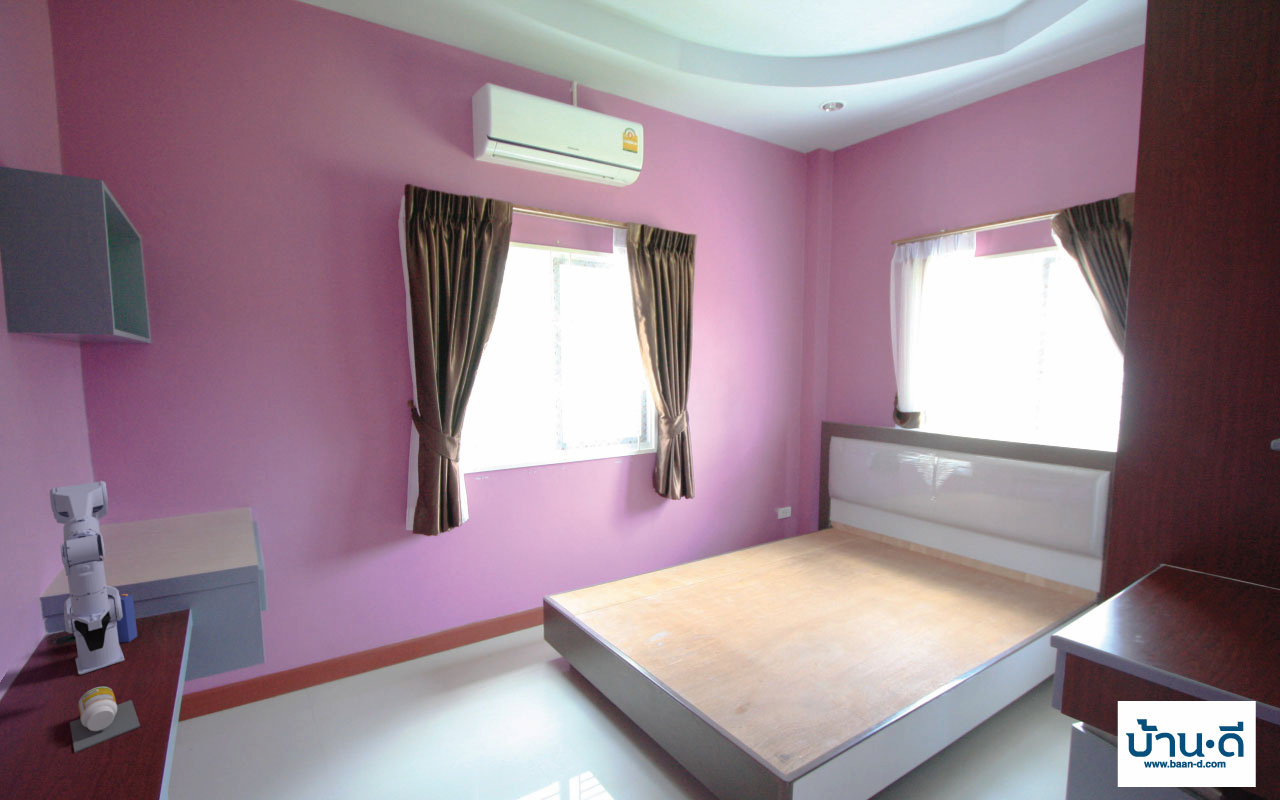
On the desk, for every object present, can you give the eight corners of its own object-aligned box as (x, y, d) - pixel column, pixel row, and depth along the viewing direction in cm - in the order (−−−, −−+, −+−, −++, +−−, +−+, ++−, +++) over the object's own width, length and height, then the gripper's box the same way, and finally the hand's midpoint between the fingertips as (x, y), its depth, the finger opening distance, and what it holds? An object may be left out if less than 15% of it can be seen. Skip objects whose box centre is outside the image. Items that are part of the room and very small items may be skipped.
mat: (70, 723, 115) (69, 722, 115) (131, 701, 122) (131, 699, 122) (74, 752, 107) (74, 751, 107) (140, 726, 114) (140, 725, 114)
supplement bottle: (104, 712, 120) (109, 735, 113) (71, 711, 116) (75, 734, 109) (119, 686, 121) (125, 707, 114) (88, 684, 117) (92, 706, 111)
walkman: (137, 636, 148) (132, 593, 146) (129, 642, 145) (123, 598, 144) (105, 637, 147) (99, 594, 146) (96, 643, 144) (90, 599, 143)
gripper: (60, 586, 124) (68, 643, 126) (64, 608, 114) (73, 670, 116) (104, 576, 129) (111, 631, 131) (111, 595, 120) (119, 655, 121)
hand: (96, 648), depth 124 cm, fingers closed
